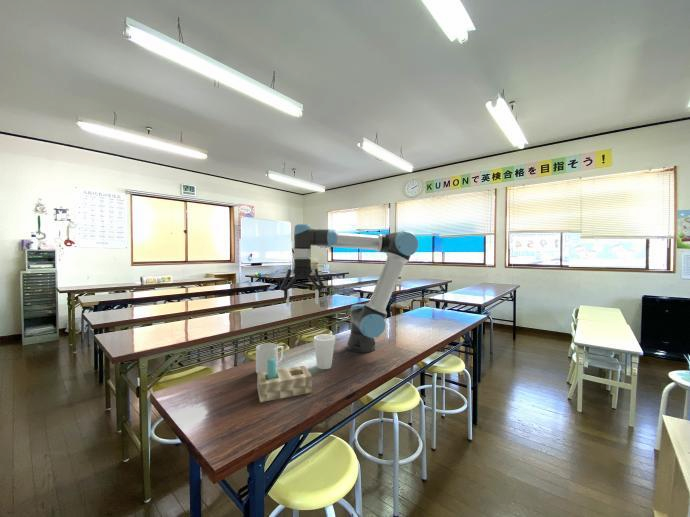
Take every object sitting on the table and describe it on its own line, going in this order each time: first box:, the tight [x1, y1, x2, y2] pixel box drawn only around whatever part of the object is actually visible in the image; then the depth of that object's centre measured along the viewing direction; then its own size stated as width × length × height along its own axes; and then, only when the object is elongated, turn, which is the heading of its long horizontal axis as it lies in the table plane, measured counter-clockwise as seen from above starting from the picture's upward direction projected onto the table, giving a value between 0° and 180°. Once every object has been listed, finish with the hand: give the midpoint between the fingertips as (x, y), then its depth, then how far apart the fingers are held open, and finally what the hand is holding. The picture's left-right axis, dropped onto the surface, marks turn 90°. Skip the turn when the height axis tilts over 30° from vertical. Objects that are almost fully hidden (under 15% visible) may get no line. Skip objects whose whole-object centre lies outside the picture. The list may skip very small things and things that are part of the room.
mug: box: [255, 342, 285, 374], centre depth 119 cm, size 12×9×11 cm
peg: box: [268, 358, 276, 380], centre depth 101 cm, size 3×3×12 cm
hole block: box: [256, 365, 313, 403], centre depth 103 cm, size 18×10×6 cm, turn 112°
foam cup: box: [313, 333, 336, 370], centre depth 125 cm, size 10×9×13 cm
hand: (302, 304), depth 129 cm, fingers open, 13 cm apart
